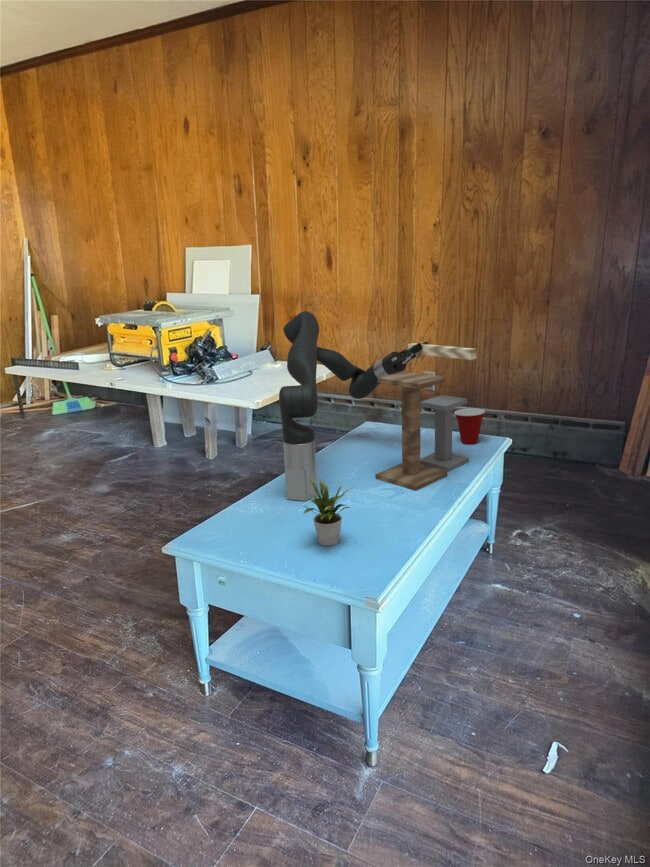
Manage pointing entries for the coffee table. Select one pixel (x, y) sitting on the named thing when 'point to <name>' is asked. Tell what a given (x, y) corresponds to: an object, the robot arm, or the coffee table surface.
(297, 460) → the robot arm
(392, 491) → the coffee table surface
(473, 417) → the plastic cup
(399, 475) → the walnut stand
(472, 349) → the birch block
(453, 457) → the charcoal stand
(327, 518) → the house plant
